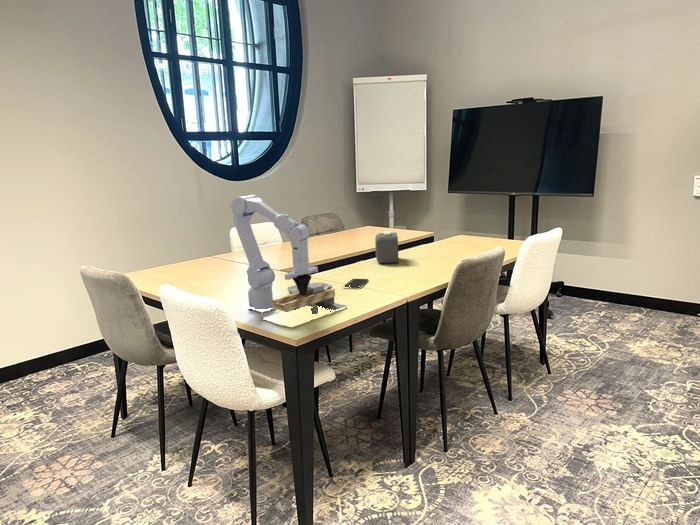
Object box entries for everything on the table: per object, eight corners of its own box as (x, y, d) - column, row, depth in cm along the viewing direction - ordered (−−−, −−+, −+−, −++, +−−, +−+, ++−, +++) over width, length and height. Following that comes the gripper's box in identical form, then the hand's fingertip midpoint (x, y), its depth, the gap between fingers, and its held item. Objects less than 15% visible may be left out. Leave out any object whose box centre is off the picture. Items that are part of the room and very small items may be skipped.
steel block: (313, 298, 193) (313, 288, 192) (305, 296, 197) (304, 286, 196) (324, 295, 197) (323, 285, 196) (315, 293, 200) (315, 283, 199)
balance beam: (291, 321, 181) (290, 304, 180) (269, 315, 189) (268, 299, 188) (339, 304, 199) (338, 289, 197) (317, 300, 206) (316, 285, 205)
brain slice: (309, 286, 235) (308, 280, 234) (338, 291, 224) (337, 285, 223) (277, 297, 220) (276, 290, 219) (306, 303, 209) (305, 296, 209)
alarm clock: (398, 264, 271) (397, 234, 268) (376, 265, 272) (375, 235, 268) (396, 257, 287) (395, 229, 284) (375, 258, 288) (374, 230, 284)
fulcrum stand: (291, 328, 179) (290, 319, 178) (261, 320, 190) (261, 311, 189) (346, 308, 199) (346, 299, 198) (317, 301, 210) (317, 293, 209)
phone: (342, 286, 228) (352, 278, 242) (342, 289, 228) (352, 280, 242) (360, 287, 225) (369, 278, 239) (360, 290, 226) (369, 281, 240)
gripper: (292, 263, 182) (295, 301, 184) (322, 256, 192) (324, 292, 195) (279, 261, 186) (282, 298, 189) (309, 254, 197) (311, 289, 200)
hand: (303, 294), depth 192 cm, fingers closed
